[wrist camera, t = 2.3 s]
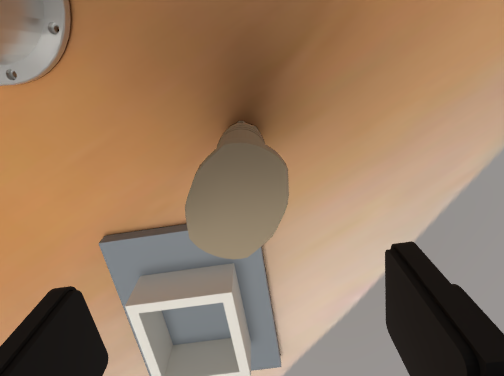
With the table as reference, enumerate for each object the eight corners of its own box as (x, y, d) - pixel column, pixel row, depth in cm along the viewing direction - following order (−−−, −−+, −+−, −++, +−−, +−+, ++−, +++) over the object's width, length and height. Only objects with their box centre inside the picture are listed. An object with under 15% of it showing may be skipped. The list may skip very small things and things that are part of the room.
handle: (207, 159, 31) (171, 241, 17) (230, 94, 29) (211, 127, 15) (254, 176, 32) (257, 269, 18) (280, 114, 29) (307, 164, 15)
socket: (104, 235, 34) (76, 270, 28) (255, 213, 33) (256, 245, 28) (155, 371, 41) (140, 420, 36) (280, 356, 40) (285, 403, 35)
